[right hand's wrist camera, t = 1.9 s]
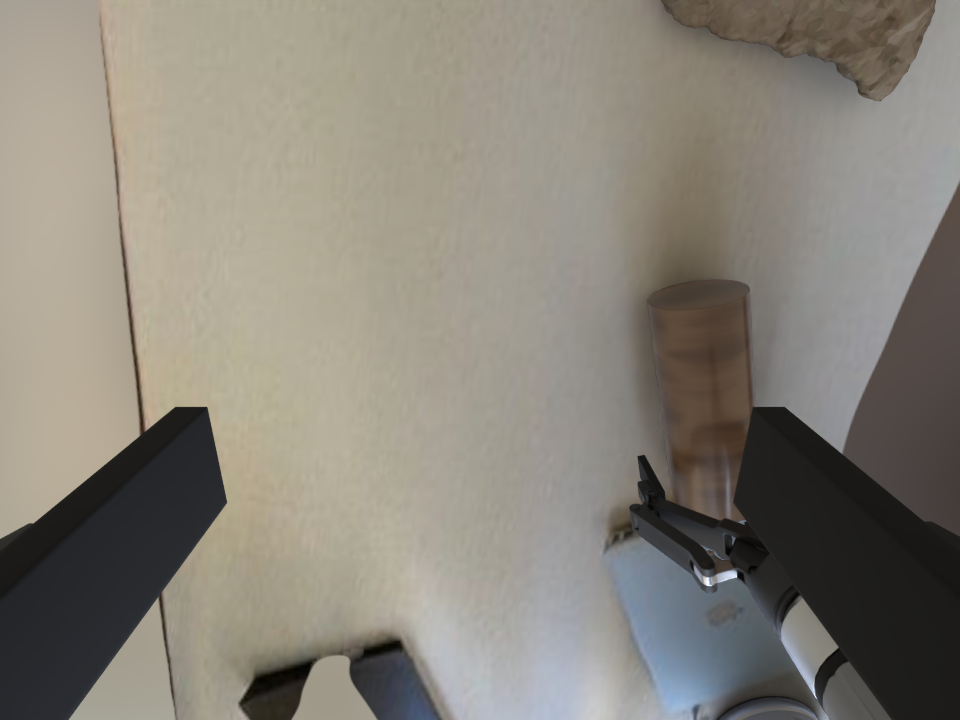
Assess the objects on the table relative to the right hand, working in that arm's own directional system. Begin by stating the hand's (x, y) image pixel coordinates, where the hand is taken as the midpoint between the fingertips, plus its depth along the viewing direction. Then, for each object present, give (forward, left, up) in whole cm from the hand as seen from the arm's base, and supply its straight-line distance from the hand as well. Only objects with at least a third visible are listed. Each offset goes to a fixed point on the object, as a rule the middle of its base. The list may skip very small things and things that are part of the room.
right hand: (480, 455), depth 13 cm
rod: (+8, +26, -40) cm, 49 cm away
